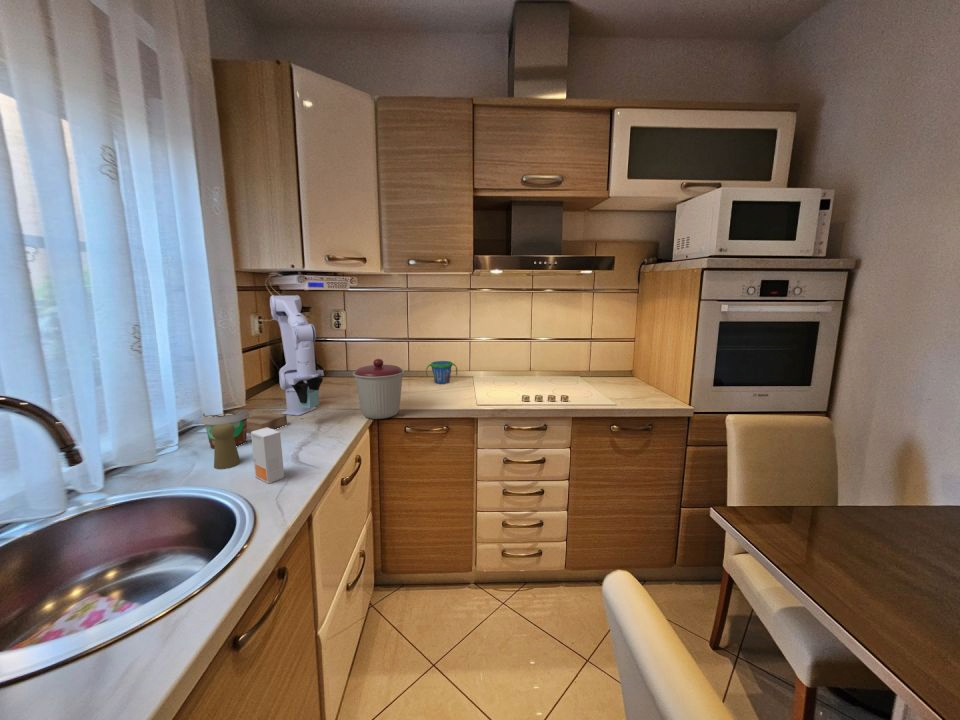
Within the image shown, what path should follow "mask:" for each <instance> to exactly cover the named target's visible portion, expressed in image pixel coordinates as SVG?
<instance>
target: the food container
mask: <svg viewBox="0 0 960 720" xmlns="http://www.w3.org/2000/svg"><path fill="white" fill-rule="evenodd" d="M248 417H250V414H249V412H248V411H247V409H245V410H244V411H242V412H239V413H233V412H226V413H225V412H224V413H219V414H214V415H213V414H210V415H205V412H204V413H202V416H201V420H200V422H201V424H203V425H204V427H205V430H206V434H207V438H208V442H209V447H210V448H211V449H212V450H215V438H214V437H213V436H212V428H213V427H214V426H216V425H219V424H224V423H230V424H233V425H234V427H235V433H234V435H233V437H234V440H235V444H236V446H237V447H240V446H242V445H244V444H246V443H247V438H248V437H247V434H248V433H247V418H248ZM245 442H246V443H245ZM243 443H244V444H243ZM241 444H242V445H241ZM239 445H240V446H239Z"/></svg>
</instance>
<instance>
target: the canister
mask: <svg viewBox="0 0 960 720" xmlns="http://www.w3.org/2000/svg"><path fill="white" fill-rule="evenodd" d="M372 363H373V364H371V365H365V366H362V367H359V368H357V369H356V370H354V371H353V372H352V375H353V376H354V379H355V384H356V390H357V391H356V392H357V396H358V397H357V398H358V401H359V406H360V411H361V413H362V415H363V416H364V418H365V417H366V418H368V419H371V420H372V419H373V420H382V419H390V418H392V417H394V416H396V415H397V414H398V412H399V410H400V407H401V397H402V384H403V374H404V372H405V369H402V368H401V367H400V366H398V365H392V364H384V361H383V359H381V358H376V359H374V360H373V362H372Z"/></svg>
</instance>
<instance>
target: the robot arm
mask: <svg viewBox="0 0 960 720" xmlns="http://www.w3.org/2000/svg"><path fill="white" fill-rule="evenodd" d="M269 307H270V313H271V318H272V319H273V320H274V321H276V322H277V323H278V326H279V329H280V334H281V342H282V346H283V347H282V349H283V354H284V359H285V365H283V366H282V367H281V368H279V371H278V376H279V379H278V380H279V386H280V389H282V390H283V391H284V392H285V402H286V410H284V411H282V412H281V414H282V415H289V416H302V415H304V414H306V413H309V412H311V411H315V410H316V409H317V408H316V406H314V407H311V408H305V407H299V401H298V398H299V400H300V403H307V390H308V389H310V390H318V392H319V390H320V387H321V385H322V383H323V381H324V379H323V376H325V374H324V370H323V369H317V368H316V356H315V344H314V342H315V341H316V334H317V333H316V328H315V326H314V325H313V324H312V323H309V322H308V320H307V318H306V317H305V315H304V314H303V313H301V311H302V307H303V306H302V298H301V296H299V295H298V294H295V295H274V294H272V295H271V296H270V297H269ZM316 369H317V370H316Z"/></svg>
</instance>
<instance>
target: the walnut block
mask: <svg viewBox="0 0 960 720" xmlns="http://www.w3.org/2000/svg"><path fill="white" fill-rule="evenodd" d="M285 425H287V426H288V418H287V414H282V413H272V412H271V413H270V412H264V411H263V412H261V413H257V414H255V415H251V416H249V417H247V434H251V432H252V431H256V430H259V429H263V428H270V429H274V430H275V429H277V428H279V429H281V428H280V427H282V426H284V427H286V426H285ZM282 428H283V427H282ZM277 430H278V429H277Z"/></svg>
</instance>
